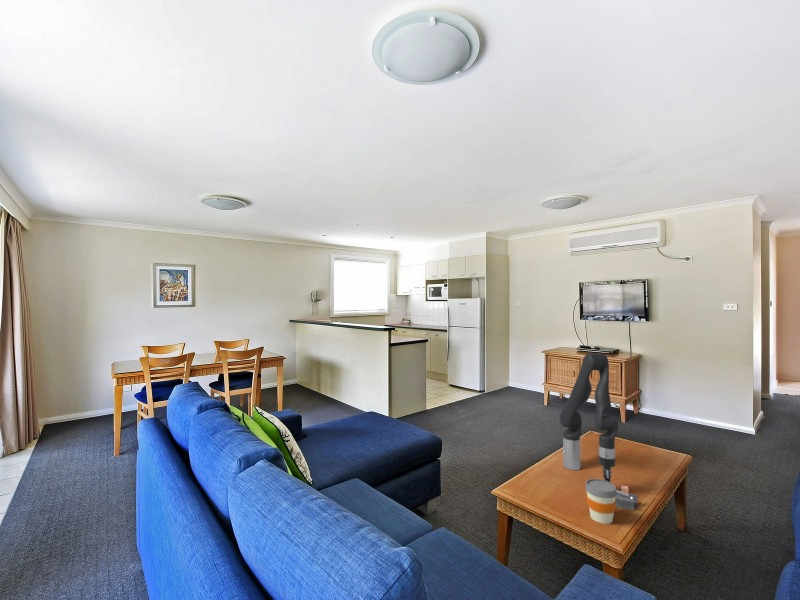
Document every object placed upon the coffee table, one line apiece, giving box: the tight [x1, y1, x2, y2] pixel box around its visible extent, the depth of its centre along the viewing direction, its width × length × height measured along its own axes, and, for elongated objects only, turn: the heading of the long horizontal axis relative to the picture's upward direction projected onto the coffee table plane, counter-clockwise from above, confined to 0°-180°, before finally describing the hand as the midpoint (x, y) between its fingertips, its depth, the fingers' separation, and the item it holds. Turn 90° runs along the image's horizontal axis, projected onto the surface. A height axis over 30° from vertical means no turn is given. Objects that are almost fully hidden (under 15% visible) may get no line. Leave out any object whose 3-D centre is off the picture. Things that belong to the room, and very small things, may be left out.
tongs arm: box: [616, 489, 639, 508], centre depth 187 cm, size 17×4×5 cm, turn 38°
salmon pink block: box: [620, 484, 629, 494], centre depth 189 cm, size 3×3×5 cm
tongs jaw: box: [615, 497, 635, 511], centre depth 182 cm, size 15×3×4 cm, turn 63°
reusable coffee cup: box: [585, 478, 617, 525], centre depth 172 cm, size 13×13×15 cm
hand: (607, 488), depth 194 cm, fingers closed
